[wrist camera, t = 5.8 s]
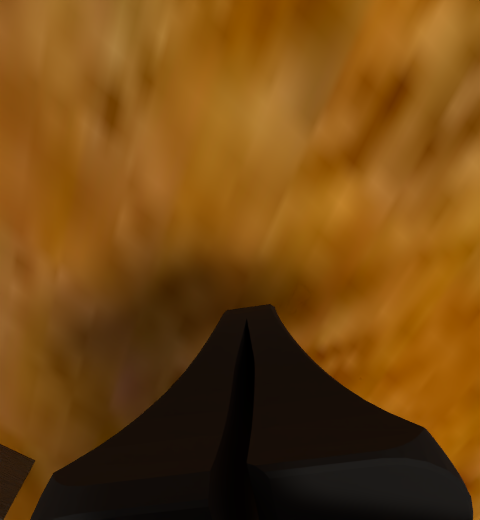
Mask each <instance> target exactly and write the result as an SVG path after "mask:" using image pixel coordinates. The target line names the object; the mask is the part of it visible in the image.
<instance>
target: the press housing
mask: <svg viewBox="0 0 480 520" xmlns="http://www.w3.org/2000/svg"><path fill="white" fill-rule="evenodd" d="M34 462H35V461H34V460H32V459H30V458H27V457H25V456H23V455H21V454H19V453H17V452H15V451H13V450H11V449H9V448H6V447H4V446H2V445H0V520H4V518H5V516H6V514H7V512H8V510H9V508H10V506H11V505H12V503H13V501H14V499H15V497H16V495H17V493H18V492H19V490H20V488H21V486H22V484H23V482H24V480H25V479H26V477H27V475H28V473H29V471H30V469H31V467H32V465H33V464H34Z"/></svg>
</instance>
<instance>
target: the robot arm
mask: <svg viewBox="0 0 480 520" xmlns="http://www.w3.org/2000/svg"><path fill="white" fill-rule="evenodd" d="M30 520H473V508H472V501H471V496H470V494H469V492H468V490H467V488H466V486H465V484H464V482H463V480H462V478H461V476H460V475H459V473H458V472H457V470H456V468H455V467H454V465H453V464H452V462H451V461H450V460H449V458H448V457H447V455H446V454H445V453H444V451H443V450H442V448H441V447H440V446H439V445H438V443H437V442H436V441H435V439H434V438H433V437H432V436H431V434H430V433H429V432H428V431H427V430H426V429H425V428H424V427H422V426H419V425H417V424H414V423H412V422H410V421H407V420H405V419H403V418H400V417H398V416H396V415H393V414H391V413H389V412H387V411H384V410H383V409H381V408H379V407H377V406H375V405H373V404H371V403H369V402H368V401H366V400H364V399H362V398H361V397H359V396H358V395H356V394H355V393H353V392H352V391H350V390H349V389H347V388H345V387H344V386H343V385H341V384H340V383H339V382H337V381H336V380H335V379H334V378H332V377H331V376H330V375H329V374H327V373H326V372H325V371H324V370H323V369H322V368H321V367H319V366H318V365H317V364H316V363H315V362H314V361H313V360H312V359H311V358H310V357H309V356H308V355H307V354H306V353H305V351H304V350H303V349H302V348H301V347H300V346H299V345H298V344H297V342H296V341H295V340H294V339H293V337H292V336H291V335H290V333H289V332H288V331H287V329H286V328H285V326H284V325H283V323H282V322H281V320H280V318H279V317H278V315H277V312H276V310H275V307H274V306H272V305H271V304H268V305H261V306H254V307H247V308H240V309H233V310H226V312H225V313H224V314H223V316H222V317H221V319H220V321H219V323H218V324H217V326H216V328H215V329H214V331H213V333H212V334H211V336H210V337H209V339H208V340H207V342H206V343H205V345H204V346H203V348H202V349H201V351H200V352H199V354H198V355H197V357H196V358H195V359H194V360H193V362H192V363H191V364H190V366H189V367H188V368H187V370H186V371H185V372H184V373H183V375H182V376H181V377H180V378H179V379H178V380H177V382H176V383H175V384H174V385H173V386H172V387H171V388H170V389H169V390H168V391H167V392H166V393H165V394H164V395H163V396H162V397H161V398H160V399H159V400H158V401H156V402H155V403H154V404H153V405H152V406H151V407H150V408H148V409H147V410H146V411H145V412H144V413H143V414H141V415H140V416H139V417H138V418H137V419H136V420H134V421H133V422H132V423H131V424H129V425H128V426H127V427H125V428H124V429H123V430H121V431H120V432H119V433H117V434H116V435H114V436H113V437H111V438H110V439H109V440H107V441H106V442H104V443H103V444H101V445H100V446H98V447H97V448H95V449H94V450H92V451H90V452H89V453H87V454H85V455H84V456H82V457H80V458H79V459H77V460H75V461H74V462H72V463H70V464H69V465H67V466H65V467H64V468H62V469H60V470H58V471H56V472H55V473H53V475H52V477H51V479H50V480H49V482H48V484H47V486H46V488H45V490H44V491H43V493H42V495H41V497H40V499H39V502H38V504H37V506H36V508H35V510H34V513H33V515H32V517H31V519H30Z"/></svg>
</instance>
